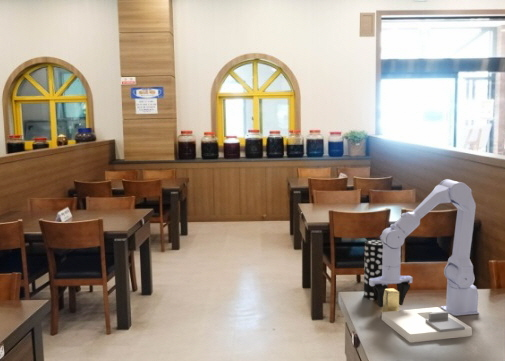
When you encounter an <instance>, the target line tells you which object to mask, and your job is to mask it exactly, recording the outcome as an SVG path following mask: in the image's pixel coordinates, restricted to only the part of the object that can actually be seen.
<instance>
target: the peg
mask: <svg viewBox="0 0 505 361" xmlns="http://www.w3.org/2000/svg"><path fill="white" fill-rule="evenodd" d="M399 307H400V305H399V292H398V291H397V289H395V288H391V287H390V288H388V289H385V291H384V296H383V307H381V313H382V312H390V311H400V310H399V309H400V308H399Z"/></svg>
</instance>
